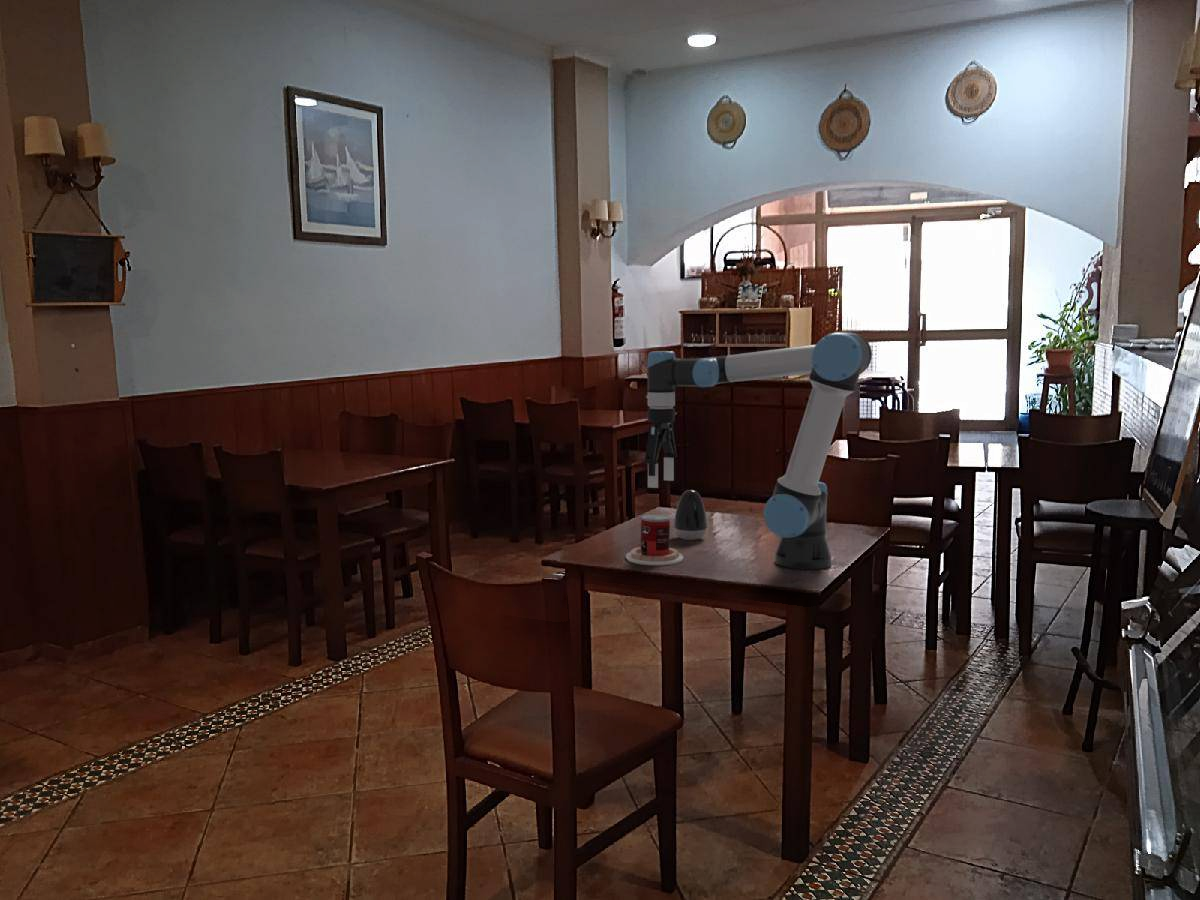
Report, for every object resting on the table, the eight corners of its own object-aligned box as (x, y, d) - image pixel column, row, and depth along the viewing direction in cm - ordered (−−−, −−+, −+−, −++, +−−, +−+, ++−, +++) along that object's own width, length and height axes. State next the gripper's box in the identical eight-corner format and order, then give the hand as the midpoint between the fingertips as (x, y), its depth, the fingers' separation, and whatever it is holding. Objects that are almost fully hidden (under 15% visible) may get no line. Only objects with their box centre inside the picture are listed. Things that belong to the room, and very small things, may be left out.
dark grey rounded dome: (706, 535, 298) (707, 487, 296) (707, 542, 288) (708, 492, 286) (673, 534, 299) (674, 486, 297) (673, 541, 289) (673, 492, 287)
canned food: (642, 551, 272) (643, 513, 270) (670, 553, 270) (671, 515, 269) (638, 558, 264) (639, 518, 263) (667, 559, 263) (668, 520, 262)
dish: (690, 555, 272) (690, 548, 271) (672, 568, 257) (672, 560, 257) (638, 549, 278) (638, 543, 278) (617, 562, 263) (617, 554, 263)
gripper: (662, 404, 275) (662, 476, 278) (632, 410, 253) (632, 489, 255) (687, 404, 273) (687, 478, 275) (659, 411, 250) (659, 491, 252)
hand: (661, 484), depth 265 cm, fingers open, 13 cm apart
